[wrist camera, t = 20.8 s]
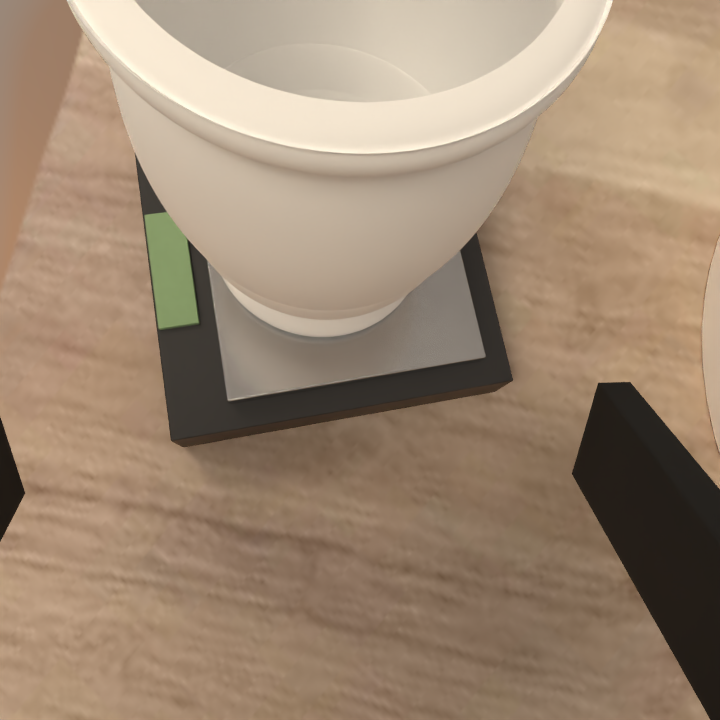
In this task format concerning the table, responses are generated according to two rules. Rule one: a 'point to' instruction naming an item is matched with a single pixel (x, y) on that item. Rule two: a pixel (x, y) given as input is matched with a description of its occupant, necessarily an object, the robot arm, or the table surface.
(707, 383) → the cable organizer
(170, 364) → the scale
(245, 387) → the scale platform
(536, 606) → the table surface
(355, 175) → the jar
